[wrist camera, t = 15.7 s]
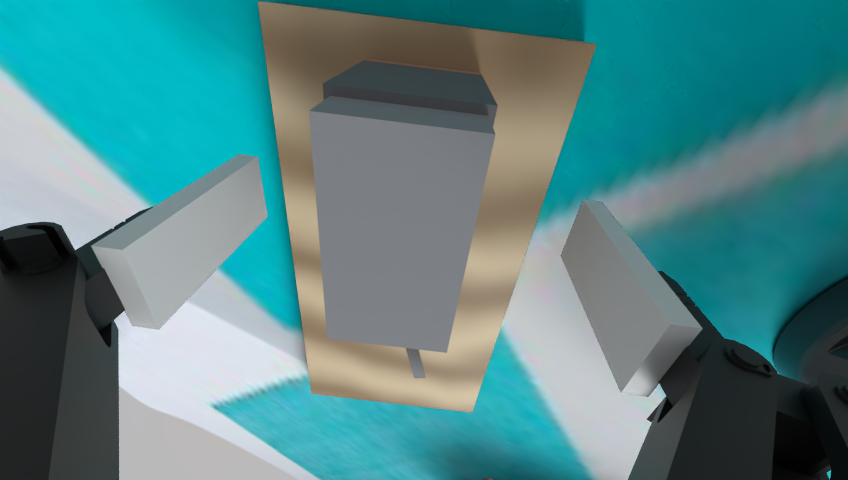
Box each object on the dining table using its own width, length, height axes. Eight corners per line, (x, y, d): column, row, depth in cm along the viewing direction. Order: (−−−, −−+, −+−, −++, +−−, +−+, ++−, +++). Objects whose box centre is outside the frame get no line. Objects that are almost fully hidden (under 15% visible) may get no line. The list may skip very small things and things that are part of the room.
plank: (273, 2, 15) (256, 1, 14) (584, 41, 15) (597, 44, 14) (317, 378, 31) (311, 394, 30) (470, 396, 31) (471, 413, 30)
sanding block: (366, 58, 15) (299, 96, 8) (480, 72, 15) (506, 122, 8) (364, 232, 20) (322, 343, 13) (450, 242, 20) (450, 358, 13)
